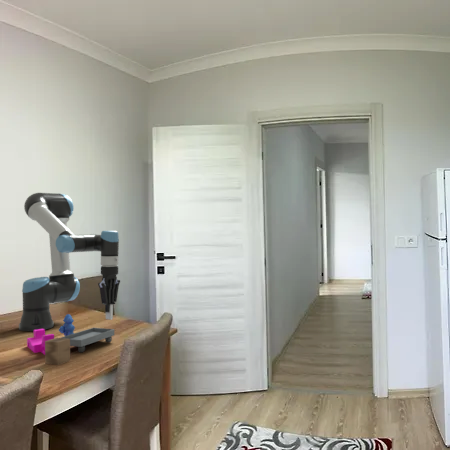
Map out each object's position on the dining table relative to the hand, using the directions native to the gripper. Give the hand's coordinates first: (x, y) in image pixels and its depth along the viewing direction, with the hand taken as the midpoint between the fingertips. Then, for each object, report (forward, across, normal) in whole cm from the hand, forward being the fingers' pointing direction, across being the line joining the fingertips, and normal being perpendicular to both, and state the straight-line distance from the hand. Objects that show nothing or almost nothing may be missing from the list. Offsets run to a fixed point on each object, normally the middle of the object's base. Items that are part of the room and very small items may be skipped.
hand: (109, 319), depth 203 cm
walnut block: (+8, -37, -5) cm, 38 cm away
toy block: (+9, -27, +13) cm, 31 cm away
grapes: (+9, -13, +12) cm, 20 cm away
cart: (+8, -16, -1) cm, 18 cm away
